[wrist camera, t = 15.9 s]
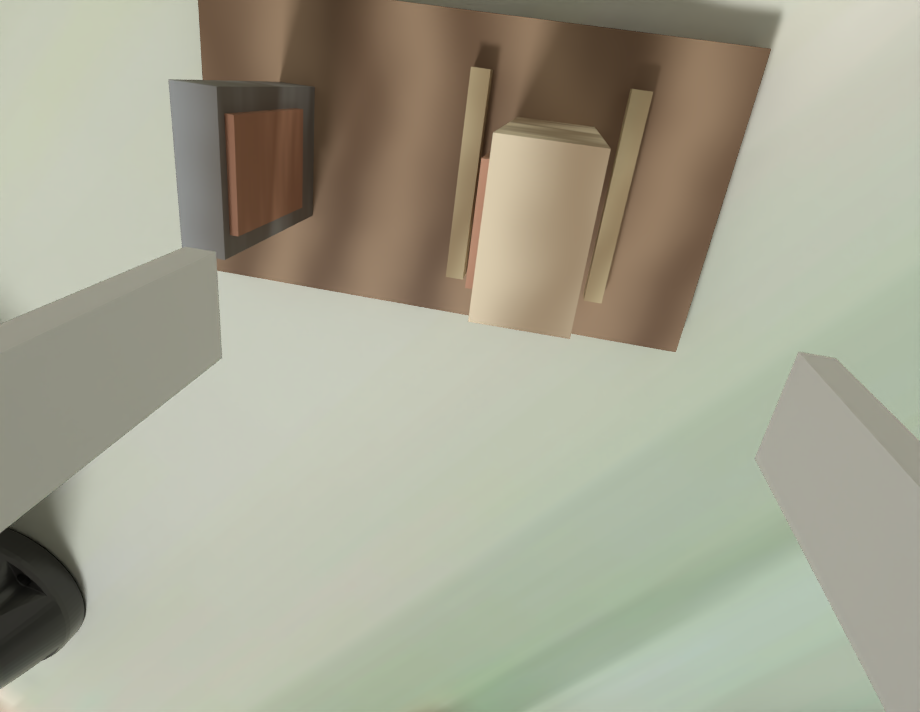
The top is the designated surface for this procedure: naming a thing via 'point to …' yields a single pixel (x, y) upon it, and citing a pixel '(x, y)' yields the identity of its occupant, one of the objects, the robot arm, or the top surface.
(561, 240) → the maple finger
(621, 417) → the top surface
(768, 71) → the top surface
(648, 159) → the rail
